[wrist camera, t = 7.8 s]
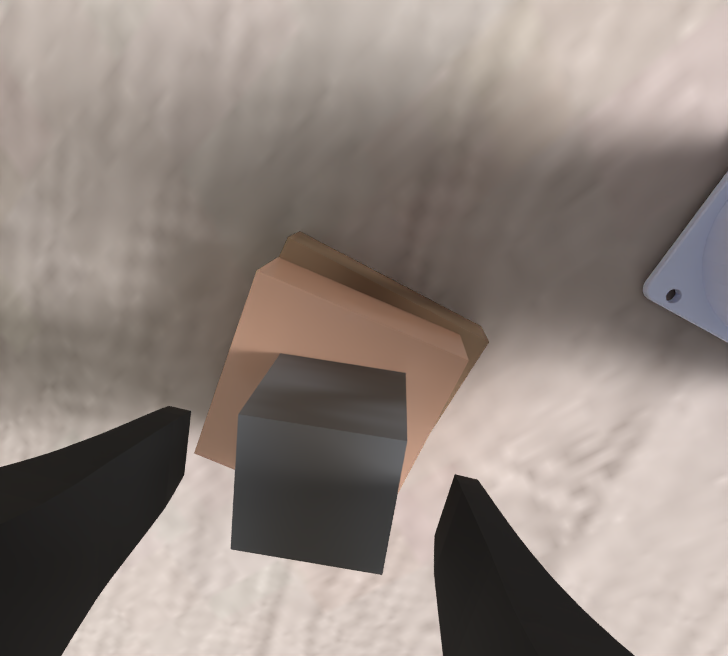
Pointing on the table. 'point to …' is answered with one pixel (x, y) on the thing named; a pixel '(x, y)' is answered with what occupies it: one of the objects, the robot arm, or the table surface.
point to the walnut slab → (384, 293)
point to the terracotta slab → (330, 351)
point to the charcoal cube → (320, 463)
